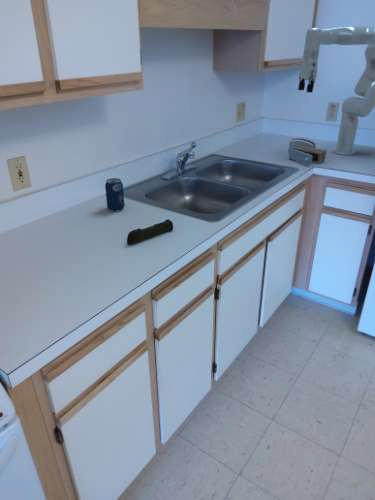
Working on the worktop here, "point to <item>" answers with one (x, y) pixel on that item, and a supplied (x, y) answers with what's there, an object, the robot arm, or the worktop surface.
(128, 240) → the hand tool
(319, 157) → the cabinet
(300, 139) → the grey arched panel
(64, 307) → the worktop surface
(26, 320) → the worktop surface
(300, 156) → the door
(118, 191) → the soda can
